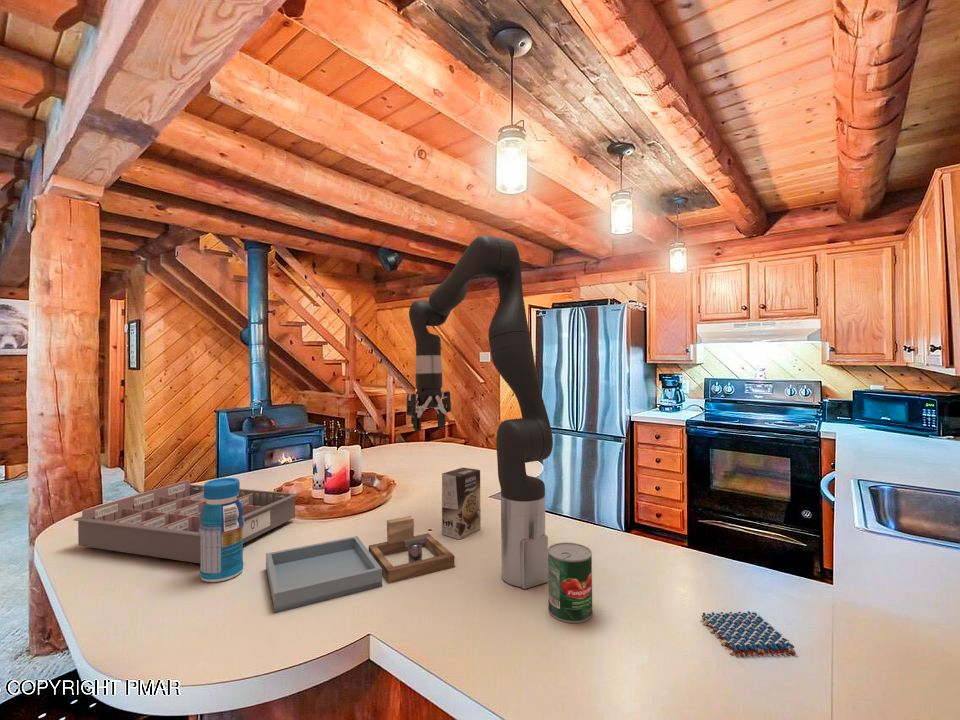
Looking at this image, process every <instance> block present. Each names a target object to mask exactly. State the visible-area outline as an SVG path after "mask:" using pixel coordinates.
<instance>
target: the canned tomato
mask: <svg viewBox="0 0 960 720" xmlns="http://www.w3.org/2000/svg"><path fill="white" fill-rule="evenodd" d="M592 556H593V552H592V550H591V549H590V548H589V547H587V546H585V545H584V544H581V543H575V542H566V541H565V542H558V543H554V544H551V545H550V546H548V582H547V583H548V585H547V586H548V587H547V589H548V592H547V593H548V594H547V595H548V606H547V607H548V612H549V614H550V615H551V616H552V617H553V619H556V620H558V621H560V622H564V623H568V624H579V623H580V624H581V623H585V622H587V621H589V620H590V619H591V618H592V617H593V614H594V611H593V579H592V578H593V565H592V564H593V557H592Z"/></svg>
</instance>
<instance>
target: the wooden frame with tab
mask: <svg viewBox="0 0 960 720" xmlns="http://www.w3.org/2000/svg"><path fill="white" fill-rule="evenodd" d="M414 523H415V519H414V517H412V516H411V515H410V516H408V515H407V516H404V517H402V516H401V517H398V518H392V519H387V520H386V541H383V542H379V543H378V542H377V543H374V544H373V543H372V544H369V545H368V551H369V552H370V553H371V555H372V556H373V557H374V559H375V560H376V561H377V563H378V564H379V565H380V567H381V568H382V577H383V578H384V579H385V580H386V582H387V583H388V584H391V583H395V582H399V581H403V580H406V579H411V578H412V579H413V578H417V577H420V576H423V575H426V574H431V573H435V572H439V571H443V570H448V569H452V568H454V567H456V565H455V563H456V562H455V561H456V560H455V554H453V553H452V552H451V551H450V550H449V549H447V548H446V547H445V546H444V545H443V544H442V543H441V542H440V541H438V540H437V539H436V538H435V537H434V536H432V535H431V534H430V533H429V532H427V533H423V534H417V535H415V532H414V530H415V529H414V527H415V526H414V525H415V524H414ZM424 536H425V537H426V538H427V543H422V548H426V549H427V550H428V551H429V552H431V554H433V555H434V556H433V557H432V556H431V557H429V558H424V559H422V560H419V561H415V562H411V563H408V562H406V563H403V564H399V565H395V566H393V564H392V563H391V562H390V560H388V558H387V557H386V556H388V555H393V554H399V553H402V552H406V551H407V552H408V547H405V546H404V545H403V541H404V540H409V539H414V538H419V537H424Z"/></svg>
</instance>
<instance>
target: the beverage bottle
mask: <svg viewBox="0 0 960 720" xmlns="http://www.w3.org/2000/svg"><path fill="white" fill-rule="evenodd" d="M240 485H241V484H240V480H239V479H238V478H236V477H222V478H221V477H220V478H216V479H211V480H208V481H206V482H204V484H203V486H204V499H205V500H207V502H206V503H205V505H204V506H203V508H202V510H201V513H200V519H201V521H202V522H201V524H200V526H199V533H200V545H201V563H200V569H199V577H200V579H201V580H202V581H203V582H207V583H219V582H224V581H228V580H231V579H234V578H235V577H237V576H239V575H240V574H241V573H242V571H243V570H244V560H243V559H244V558H243V557H244V555H243V552H244V551H243V550H244V547H243V546H244V543H243V527H244V519H243V517H242V513H243V507H242V504H241V503H240V501H239V500H238V499H237V496H238V495H239V493H240V489H241V487H240Z"/></svg>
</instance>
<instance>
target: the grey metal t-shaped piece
mask: <svg viewBox="0 0 960 720" xmlns="http://www.w3.org/2000/svg"><path fill="white" fill-rule="evenodd" d="M422 543H427V538H426V537H425V536H424V537H419V538H414V539H409V540H404V541H403V545H404V546H405V547H408V550H407V553H408V554H407V557H408V560H407V561H408V562H407V563H411V562H415V561H419V560H423V547H422Z"/></svg>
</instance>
